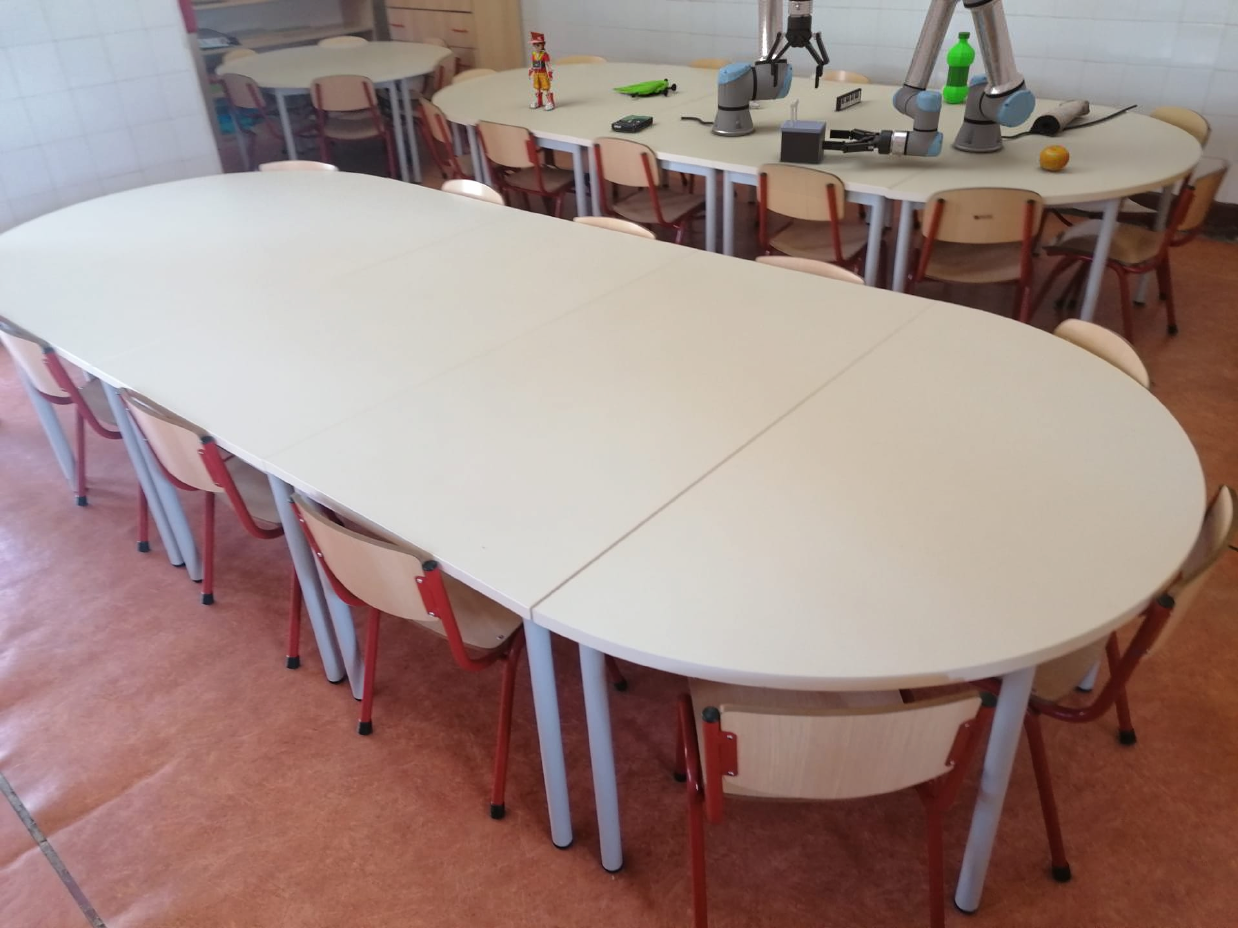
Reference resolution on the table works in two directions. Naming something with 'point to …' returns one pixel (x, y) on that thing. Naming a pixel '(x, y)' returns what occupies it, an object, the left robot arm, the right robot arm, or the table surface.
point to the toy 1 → (541, 71)
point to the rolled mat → (1060, 117)
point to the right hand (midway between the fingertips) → (826, 139)
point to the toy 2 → (648, 88)
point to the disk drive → (632, 123)
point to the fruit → (1054, 157)
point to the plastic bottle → (958, 69)
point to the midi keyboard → (848, 99)
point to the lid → (801, 123)
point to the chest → (802, 147)
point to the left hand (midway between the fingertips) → (795, 87)
